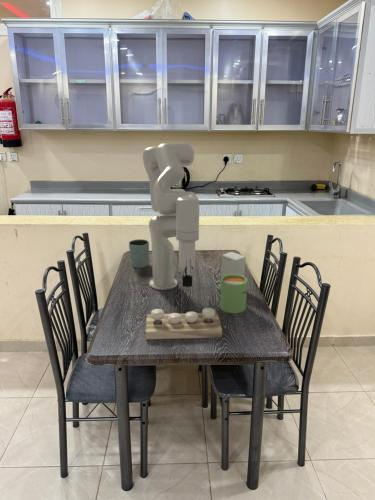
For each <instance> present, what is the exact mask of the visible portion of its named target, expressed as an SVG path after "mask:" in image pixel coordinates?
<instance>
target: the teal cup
mask: <svg viewBox="0 0 375 500" xmlns="http://www.w3.org/2000/svg"><path fill="white" fill-rule="evenodd" d="M128 247H129V253H130V262H131V267H133V268H137V269H142V268H146V267H148V266H149V265H150V260H149V257H150V253H149V252H150V242H149V240H147V239H133V240H130V241H129V242H128Z"/></svg>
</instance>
